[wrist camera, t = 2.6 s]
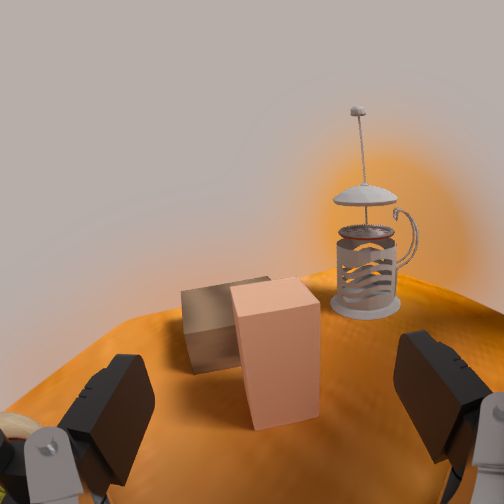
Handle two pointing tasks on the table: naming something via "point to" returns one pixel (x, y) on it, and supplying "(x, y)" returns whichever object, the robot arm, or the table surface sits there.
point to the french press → (367, 255)
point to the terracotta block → (279, 350)
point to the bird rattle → (16, 430)
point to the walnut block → (211, 327)
